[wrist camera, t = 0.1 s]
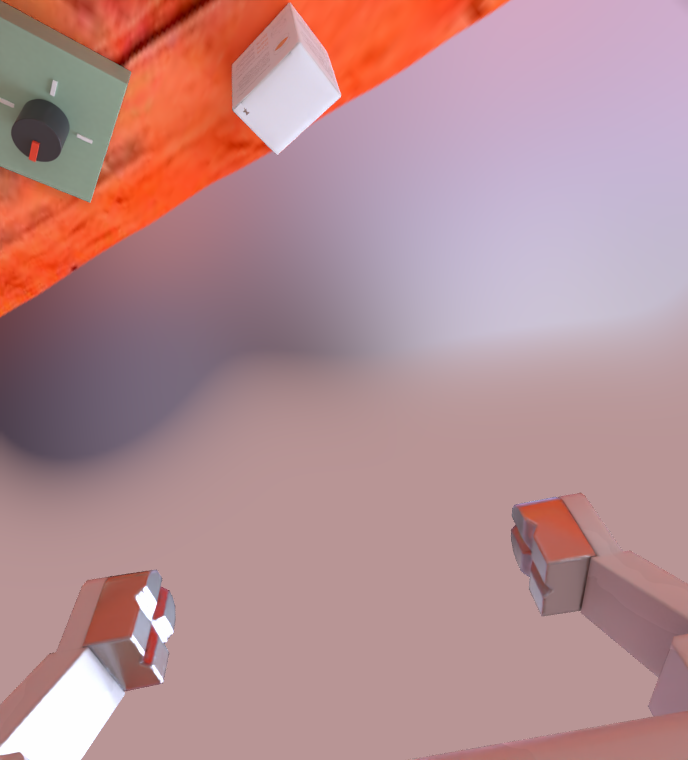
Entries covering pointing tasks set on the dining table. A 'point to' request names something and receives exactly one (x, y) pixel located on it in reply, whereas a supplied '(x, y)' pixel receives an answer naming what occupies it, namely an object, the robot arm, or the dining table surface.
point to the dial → (40, 130)
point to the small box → (283, 81)
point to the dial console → (57, 100)
